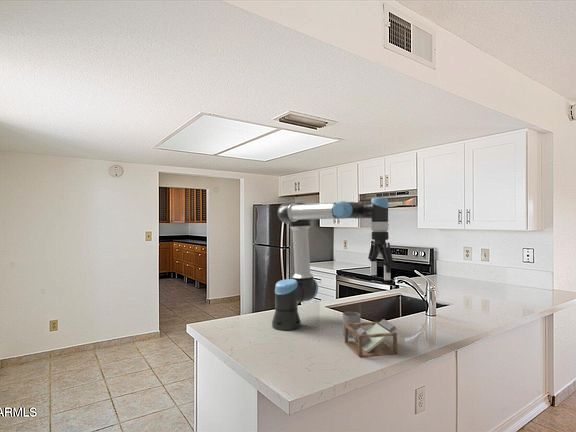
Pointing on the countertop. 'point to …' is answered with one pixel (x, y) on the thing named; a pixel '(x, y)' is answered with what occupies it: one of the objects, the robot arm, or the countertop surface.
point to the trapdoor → (376, 329)
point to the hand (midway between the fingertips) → (380, 277)
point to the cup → (351, 321)
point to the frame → (380, 348)
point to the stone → (364, 340)
